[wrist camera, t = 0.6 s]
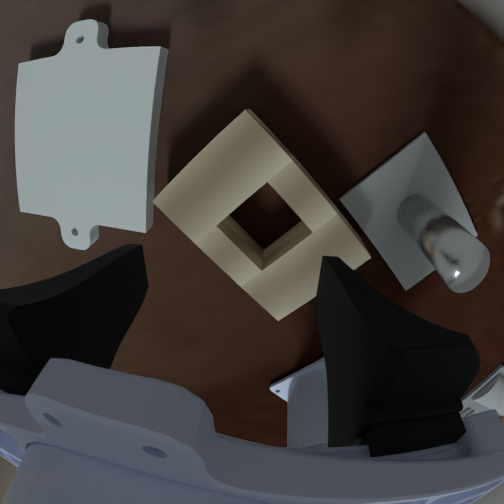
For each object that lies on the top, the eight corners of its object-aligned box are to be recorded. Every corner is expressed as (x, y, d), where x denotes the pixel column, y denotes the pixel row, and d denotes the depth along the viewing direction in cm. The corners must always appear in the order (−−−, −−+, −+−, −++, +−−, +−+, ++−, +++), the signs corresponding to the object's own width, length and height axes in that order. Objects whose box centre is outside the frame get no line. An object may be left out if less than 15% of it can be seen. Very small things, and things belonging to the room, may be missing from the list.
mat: (475, 233, 21) (477, 235, 20) (404, 289, 24) (405, 291, 23) (423, 131, 18) (425, 132, 18) (338, 198, 21) (339, 199, 20)
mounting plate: (37, 36, 16) (23, 35, 14) (176, 17, 16) (167, 11, 14) (36, 228, 24) (24, 236, 23) (154, 251, 24) (146, 263, 23)
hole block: (360, 238, 22) (371, 257, 19) (278, 296, 25) (278, 321, 22) (249, 108, 18) (245, 109, 16) (167, 188, 21) (152, 201, 19)
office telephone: (506, 372, 26) (536, 399, 30) (498, 359, 29) (530, 388, 32) (379, 463, 36) (439, 470, 40) (376, 450, 38) (436, 460, 42)
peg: (438, 216, 20) (495, 270, 13) (409, 239, 21) (455, 302, 14) (421, 186, 19) (481, 231, 12) (390, 210, 20) (438, 266, 13)
